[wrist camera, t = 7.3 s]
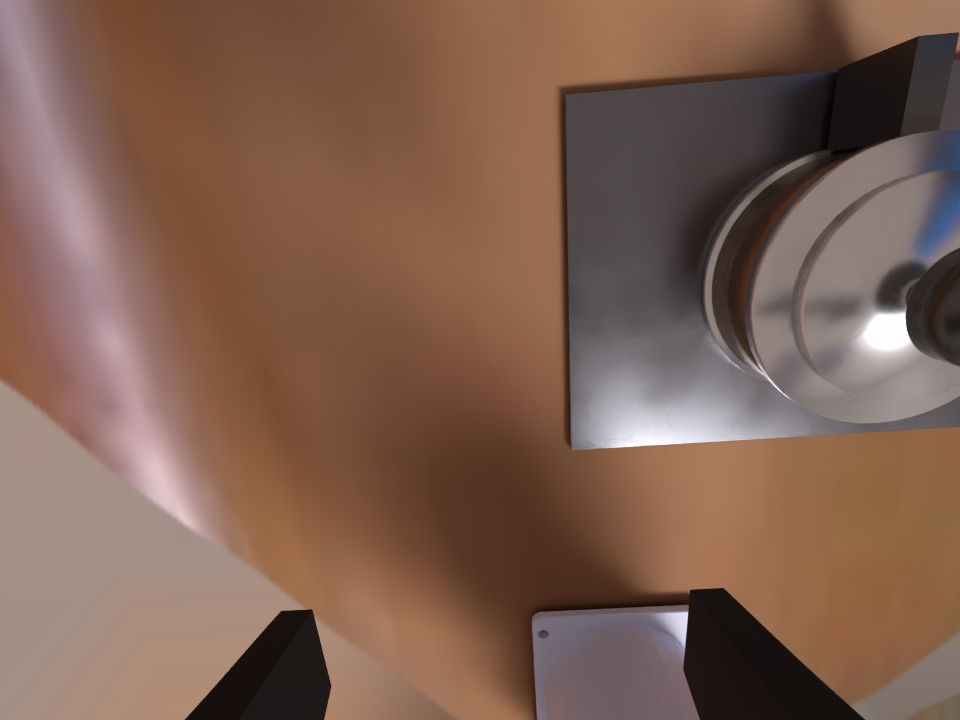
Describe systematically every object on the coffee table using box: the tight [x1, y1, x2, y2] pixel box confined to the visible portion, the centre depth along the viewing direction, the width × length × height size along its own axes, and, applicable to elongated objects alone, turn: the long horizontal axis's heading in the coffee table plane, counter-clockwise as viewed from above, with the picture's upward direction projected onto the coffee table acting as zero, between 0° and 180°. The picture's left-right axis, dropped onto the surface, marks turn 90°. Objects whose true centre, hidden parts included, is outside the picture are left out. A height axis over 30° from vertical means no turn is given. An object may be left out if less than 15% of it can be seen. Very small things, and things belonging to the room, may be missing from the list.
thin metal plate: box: [564, 33, 960, 450], centre depth 15 cm, size 13×18×4 cm
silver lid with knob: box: [791, 169, 960, 403], centre depth 12 cm, size 6×6×3 cm
